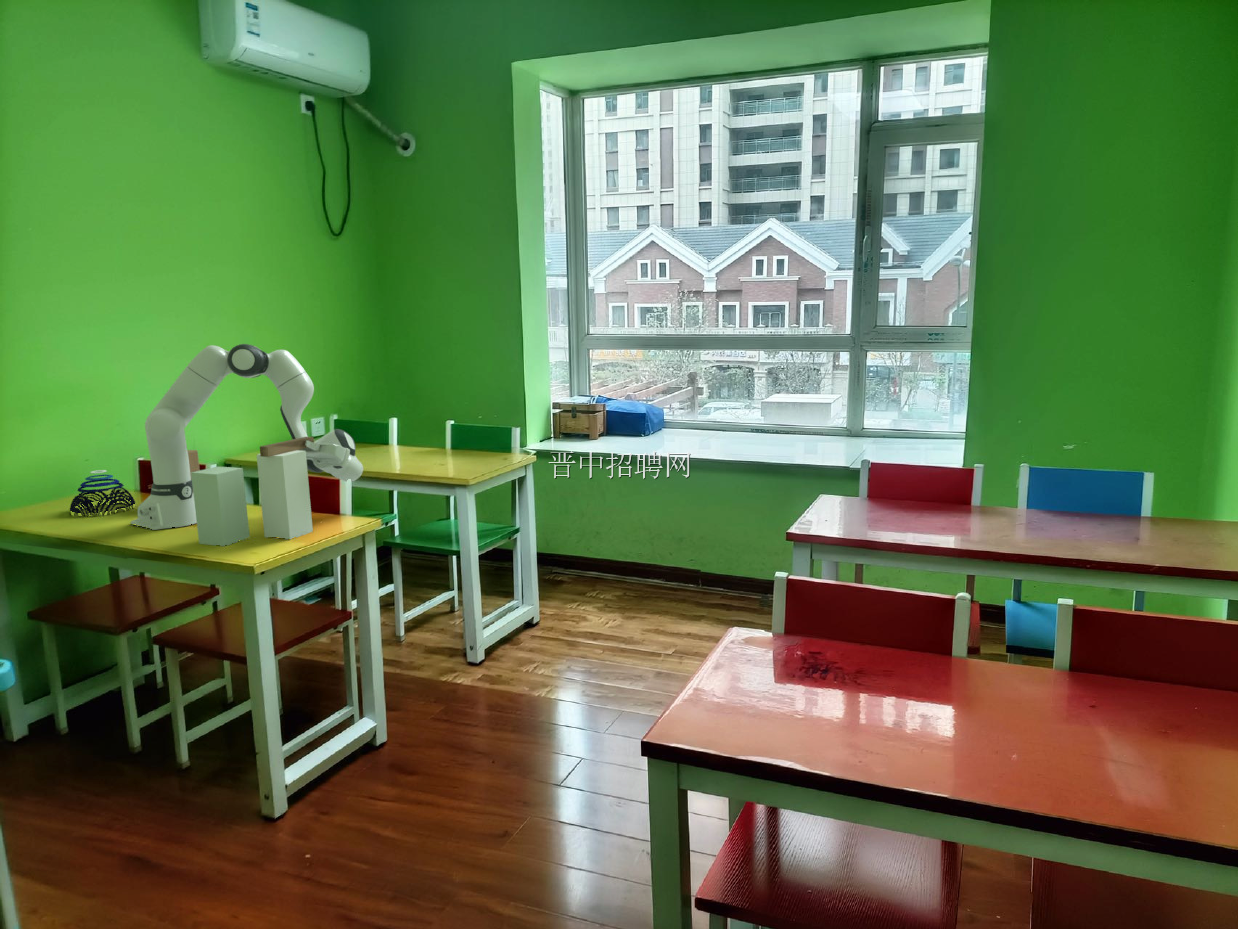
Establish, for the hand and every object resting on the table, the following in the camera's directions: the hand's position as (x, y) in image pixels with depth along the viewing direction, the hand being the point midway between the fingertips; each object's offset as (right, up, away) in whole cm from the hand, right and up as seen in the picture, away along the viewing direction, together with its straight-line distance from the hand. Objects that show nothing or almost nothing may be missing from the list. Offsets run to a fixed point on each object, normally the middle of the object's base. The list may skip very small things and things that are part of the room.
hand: (299, 442), depth 267 cm
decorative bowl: (-84, -24, +36) cm, 94 cm away
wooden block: (-58, -22, +40) cm, 74 cm away
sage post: (-20, -30, -8) cm, 37 cm away
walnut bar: (-2, -3, -4) cm, 6 cm away
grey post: (-2, -29, -2) cm, 29 cm away
